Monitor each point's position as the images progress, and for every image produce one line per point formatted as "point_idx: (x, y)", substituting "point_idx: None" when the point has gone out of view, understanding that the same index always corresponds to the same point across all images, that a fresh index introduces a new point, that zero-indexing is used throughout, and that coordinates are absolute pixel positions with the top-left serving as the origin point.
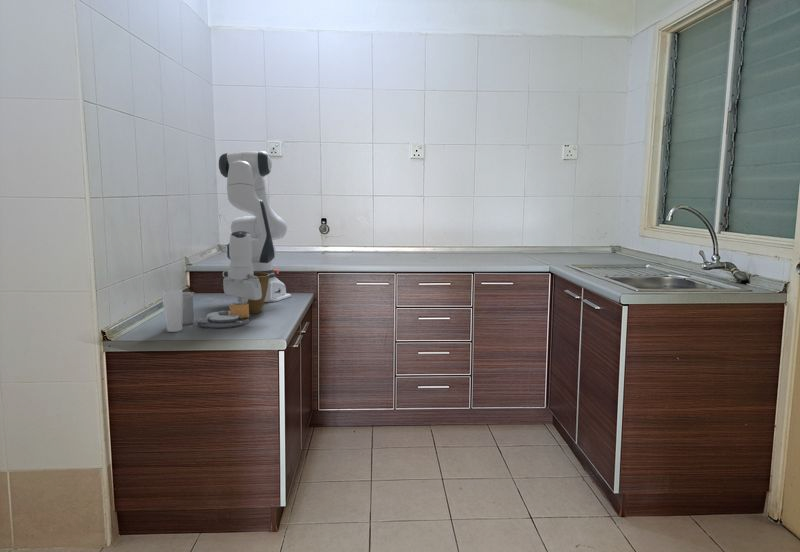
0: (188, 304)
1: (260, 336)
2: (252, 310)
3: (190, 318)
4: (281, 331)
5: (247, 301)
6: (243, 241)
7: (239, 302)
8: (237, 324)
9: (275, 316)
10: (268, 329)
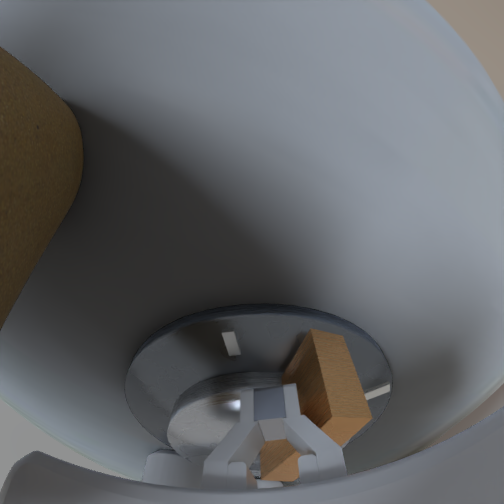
0: None
1: None
2: (73, 186)
3: (201, 478)
4: None
5: (327, 437)
6: None
7: (253, 455)
8: (388, 396)
9: (311, 60)
10: None
